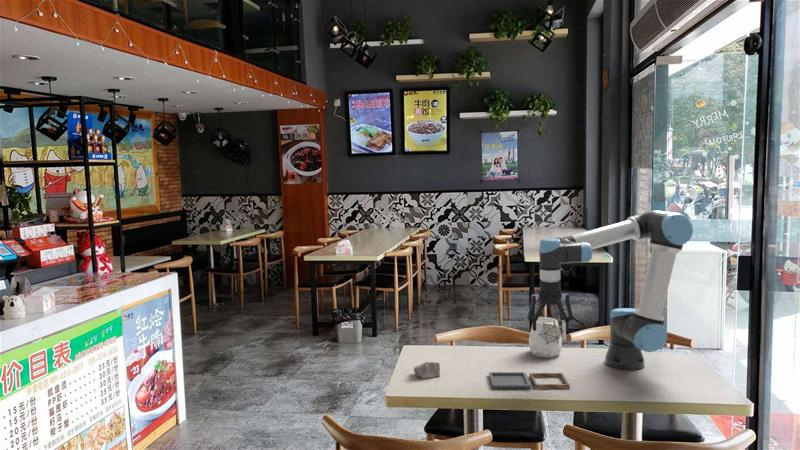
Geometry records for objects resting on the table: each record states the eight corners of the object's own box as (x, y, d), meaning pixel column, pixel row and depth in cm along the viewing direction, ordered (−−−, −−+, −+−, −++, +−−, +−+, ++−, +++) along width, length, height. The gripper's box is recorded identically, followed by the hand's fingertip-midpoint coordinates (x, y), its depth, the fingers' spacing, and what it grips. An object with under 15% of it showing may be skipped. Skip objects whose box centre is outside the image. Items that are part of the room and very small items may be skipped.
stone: (436, 371, 244) (436, 357, 243) (441, 378, 236) (441, 364, 235) (413, 373, 242) (412, 359, 242) (417, 380, 234) (416, 366, 234)
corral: (562, 376, 236) (562, 372, 236) (569, 388, 223) (569, 384, 223) (529, 376, 236) (529, 372, 236) (535, 388, 224) (535, 384, 224)
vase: (529, 358, 258) (529, 323, 256) (527, 348, 271) (528, 315, 270) (563, 359, 255) (563, 324, 254) (560, 349, 269) (560, 316, 267)
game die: (555, 353, 227) (564, 337, 220) (533, 345, 228) (542, 328, 222) (558, 336, 234) (568, 320, 227) (537, 328, 235) (546, 312, 228)
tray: (524, 375, 237) (524, 372, 237) (531, 389, 223) (531, 385, 223) (489, 375, 238) (489, 372, 238) (492, 389, 224) (492, 385, 224)
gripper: (577, 277, 229) (577, 334, 231) (518, 278, 230) (519, 336, 232) (582, 281, 221) (582, 340, 224) (521, 282, 222) (522, 342, 225)
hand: (550, 338), depth 228 cm, fingers closed on game die, 9 cm apart
